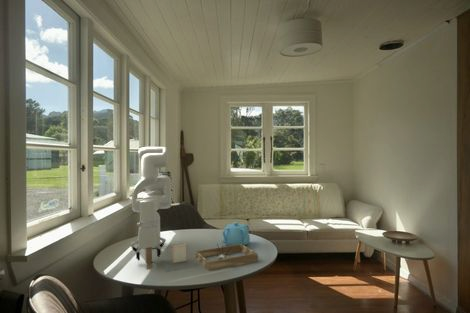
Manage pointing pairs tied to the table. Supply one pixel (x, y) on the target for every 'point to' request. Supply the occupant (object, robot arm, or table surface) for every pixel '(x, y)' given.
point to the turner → (149, 259)
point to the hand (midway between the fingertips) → (148, 258)
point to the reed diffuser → (221, 254)
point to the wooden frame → (234, 261)
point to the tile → (179, 253)
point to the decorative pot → (236, 234)
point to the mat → (179, 265)
